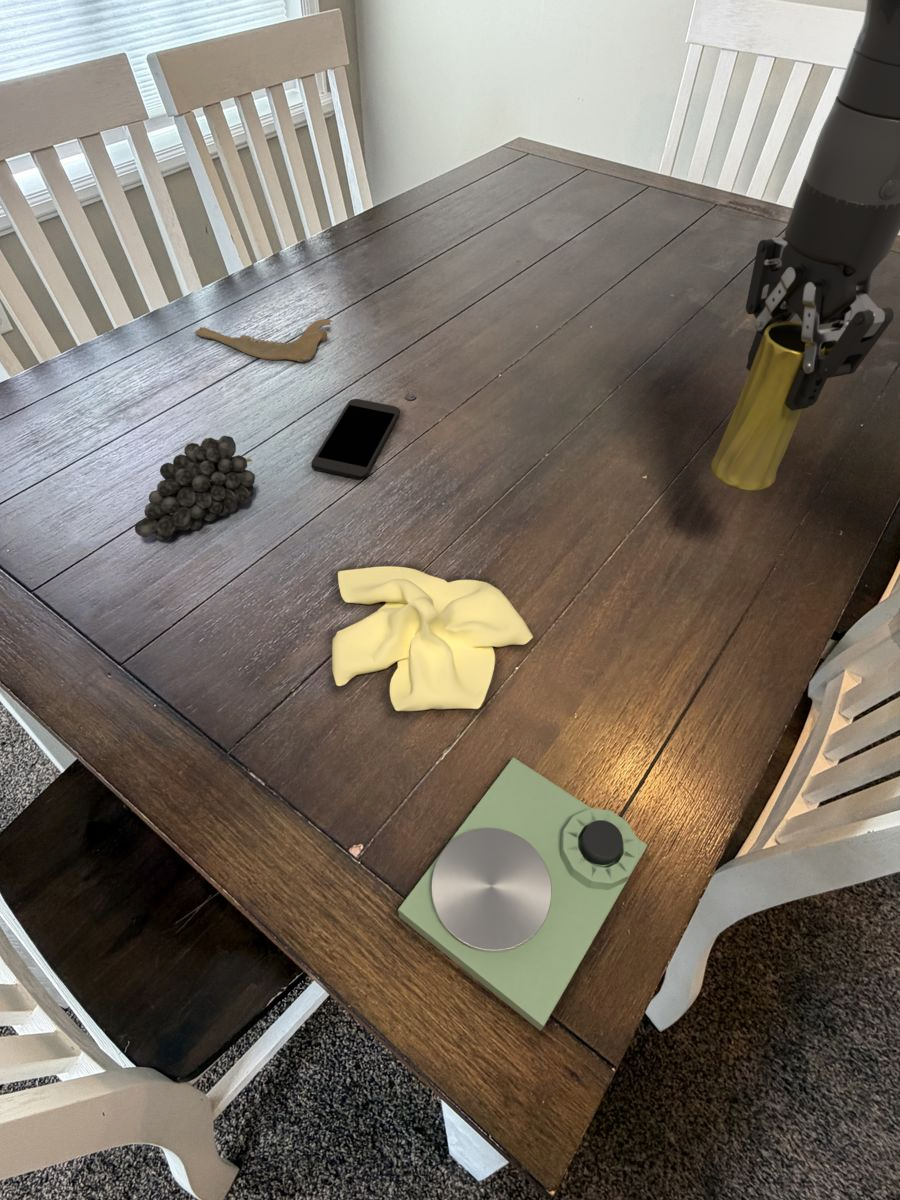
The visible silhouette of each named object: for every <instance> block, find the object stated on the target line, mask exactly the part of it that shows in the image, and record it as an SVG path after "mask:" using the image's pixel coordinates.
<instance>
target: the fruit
mask: <svg viewBox="0 0 900 1200" xmlns="http://www.w3.org/2000/svg"><path fill="white" fill-rule="evenodd" d="M236 451H237V445H236V442H235V440H234V438H233V437H232V436H230V435H222V436H221V437H220V438H219V439H215V438H213V437H206V438H204V439H203V440H202V441H201V444H200V445H199V444H198V443H195V442H190V443H187V444H186V445H185V447H184V453H183V454H181V453H180V454H178V455H175V456H174V458H173V460H172V462H173V463H172V462H165V463H163V464H162V465H161V466H160V469H159V473H160V475H161V477H162V478H163V479H162V480H160V481H159V482H158V483H157V484H156V490H151V492H150V493H149V495H148V501H149V503H148V504H146V505H145V507H144V515H145V517H146V518H144V519H140V520H139V521H137V522H136V523H135V526H134V531H135V533H136V534H137V535H138V536H139V537H142V538H148V537H150V536H152V535H155V537H156V538H157V539H158V540H159V541H170V540H171V539H172V537H173V534H174V533H175V532H177V531H179V530H180V531H187V530H189V529H190V530H193V531H196V530H200V528H201V527H202V526H203V521H202V519H204V520H205V521H206V522H213V521H214V520H216V519H217V516H223V517H224V516H226V515H228V514H230V513H233V512H235V511H236V510H237V509H238V504H246V503H247V502H249V501H250V500H251V499H250V498H252V497H253V496H254V495H255V488H254V483H255V480H256V477H255V473H254V472H253V471H251V470H247V467H248V463H249V462H252V461H253V460H252V459H251V458H246V457H245V456H242V455H240V454H238V455H235V454H236Z"/></svg>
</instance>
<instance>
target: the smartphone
mask: <svg viewBox="0 0 900 1200" xmlns="http://www.w3.org/2000/svg"><path fill="white" fill-rule="evenodd" d="M400 415H401V410H400V408H399V407H397V406H395V405H390V404H385V403H381V402H375V401H371V400H365V399H360V398H352V399H350V400H349V401H348V402H347V404H346V405H345V407H344V408H343V410H342V411H341V413H340V415H339V416H338V418H337V419H336V421H335V422H334V424H333V426H332V428H331V429H330V431H329V432H328V434H327V436H326V437H325V439H324V440H323V442H322V444H321V446H320V447H319V449H318V451H317V452H316V454H315V455H314V457H313V459H312V460H311V467H312V469H313V470H317V471H320V472H326V473H330V474H334V475H339V476H343V477H349V478H354V479H357V480H363V479H365V478H367V477H368V476H369V474H370V472H371V470H372V468H373V467H374V465H375V463H376V461H377V459H378V457H379V456H380V454H381V452H382V449H383V448H384V446H385V445H386V442H387V441H388V439H389V437H390V435H391V432H392V431H393V429H394V427H395V425H396V423H397V421H398V419H399V417H400Z"/></svg>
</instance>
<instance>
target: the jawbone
mask: <svg viewBox="0 0 900 1200" xmlns="http://www.w3.org/2000/svg"><path fill="white" fill-rule="evenodd" d="M331 322H334V321H333V319H329V318H321V319H318V320H315V321H313V322H312V323H311V324H310V325H308V326H307V327H306V329H305V330H304V331H303V332H302V334H301V335H300V336H299V337H298V338H297V339H294V340H293V341H290V342H288V343H287V342H282V341H279V342H278V341H277V340H275V341H273V340H270V341H269V340H268V339H266V340H264V339H260V338H255V337H254V336H253V337H251V336H250V335H246V334H242V335H240V336H239V337H231V336H228V335H224V334H221V333H219V332H218V331H215V330H212V329H210V328H207V327H205V326H200V327H199V328H198V329H196V330H195V331H194V332H193V333H194V334H195V335H197V336H200V337H202V338H206V339H209V340H213V341H218V342H220V343H222V344H224V345H227V346H229V347H230V348H233V349H235V350H237V351H239V352H242V353H244V354H246V355H249V356H251V357H255V358H258V359H262V360H270V361H271V360H272V361H280V360H286V361H287V360H288V361H295V362H308V361H310V360H311V359H312V358H313V357H314V356H315V355H316V351H317V349H318V344H319V343H320V342H326V340H327V339H328V331H327V329H325V328H324V329H323V327H324V326H331V325H332V324H331ZM321 328H322V329H321ZM320 329H321V330H320Z"/></svg>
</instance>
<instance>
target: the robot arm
mask: <svg viewBox="0 0 900 1200" xmlns="http://www.w3.org/2000/svg"><path fill="white" fill-rule="evenodd" d="M836 94H837V96H836V97H835V99H834V102H833V104H832V106H831V108H830V110H829V112H828V115H827V117H826V119H825V120H824V123H823V125H822V127H821V129H820V132H819V134H818V136H817V139H816V142H815V144H814V148H813V150H812V153H811V155H810V158H809V162H808V165H807V167H806V169H805V173H804V176H803V178H802V181H801V184H800V187H799V190H798V192H797V196H796V199H795V202H794V203H793V208H792V210H791V212H790V216H789V218H788V220H787V224H786V227H785V230H784V236H778V237H771V238H767V239H761V240H760V241H759V242H758V245H757V247H756V248H757V249H756V253H755V258H754V263H753V268H752V274H751V277H750V278H751V279H750V282H749V287H748V292H747V293H748V294H747V298H746V303H745V312H746V313H747V314H748V315H753V316H754V318H755V321H754V328H755V330H756V332H755V335H754V338H753V341H752V343H751V345H750V349H749V351H748V356H747V363H746V370H747V371H748V372H750V369H751V367H752V364H753V361H754V359H755V356H756V353H757V351H758V348H759V345H760V343H761V340H762V337H763V335H764V332H765V330H766V328H767V327H768V326H769V325H771V324H774V323H777V322H783V321H792V319H793V318H794V317H795V316H796V315H797V316H798V318H799V319H800V320H801V323H803V324H802V332H801V341H802V342H804V343H805V351H804V359H803V368H800V369H799V372H798V374H797V377H796V379H795V381H794V384H793V386H792V388H791V391H790V393H789V395H788V398H787V400H786V403H785V405H786V406H787V407H788V408H789V409H790V410H791V411H794V410H799V409H803V410H804V409H807V408H809V407H811V406H812V407H813V406H814V405H815V404H816V403H817V401H818V399H819V397H820V395H821V393H822V391H823V388H824V386H825V384H826V381H827V380H828V379H830V378H835V377H836V378H837V377H840V376H847V375H852V374H854V373H855V372H856V371H857V370H858V368H859V367H860V366H861V364H862V362H863V361H864V360H865V358H866V357H867V356H868V355H869V353H870V352H871V350H872V349H873V347H874V346H875V344H876V343H877V342H878V340H879V339H880V338H881V336H882V335H883V334H884V332H885V331H886V330H887V328H888V327H889V325H890V324H891V323H892V322H893V319H894V316H895V315H894V310H893V308H891V307H890V306H886V307H885V306H884V307H878V306H877V305H876V303H875V302H874V300H872V299H871V297H870V295H869V294H870V291H871V281H872V275H873V273H874V271H875V269H876V268H877V267H878V266H879V265H880V264H881V262H882V261H883V260H884V259H885V258H886V257H887V256H888V255H889V254H890V252H891V251H892V248H893V246H894V244H895V242H896V240H897V237H898V235H899V233H900V0H866V1H865V9H864V17H863V23H862V25H861V28H860V31H859V33H858V35H857V37H856V40H855V43H854V46H853V48H852V52H851V54H850V56H849V60H848V62H847V65H846V68H845V72H844V74H843V76H842V79H841V82H840V84H839V87H838V91H837V93H836ZM765 286H768V287H767V292H766V297H763V291H764V288H765ZM826 324H831V325H830V327H828V328H823V329H819V326H820V325H826ZM824 342H826V343H825V351H824V355H823V356H820V348H821V345H822V343H824Z"/></svg>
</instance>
